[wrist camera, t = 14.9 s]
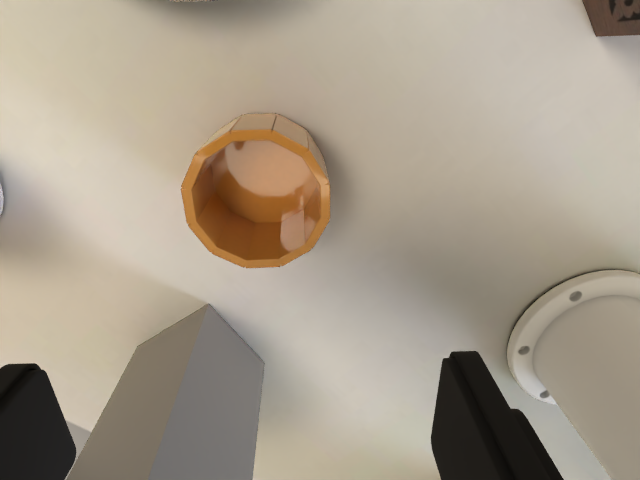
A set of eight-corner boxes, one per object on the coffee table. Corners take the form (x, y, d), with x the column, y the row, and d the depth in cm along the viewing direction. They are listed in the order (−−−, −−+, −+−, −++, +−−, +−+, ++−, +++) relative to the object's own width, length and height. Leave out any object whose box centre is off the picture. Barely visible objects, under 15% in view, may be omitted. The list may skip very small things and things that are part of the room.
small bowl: (322, 110, 23) (330, 127, 18) (324, 224, 26) (330, 265, 21) (197, 113, 23) (170, 131, 18) (214, 228, 26) (194, 270, 21)
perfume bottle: (137, 346, 30) (-51, 699, 14) (208, 303, 29) (92, 639, 12) (196, 399, 33) (97, 749, 16) (264, 363, 31) (229, 703, 15)
